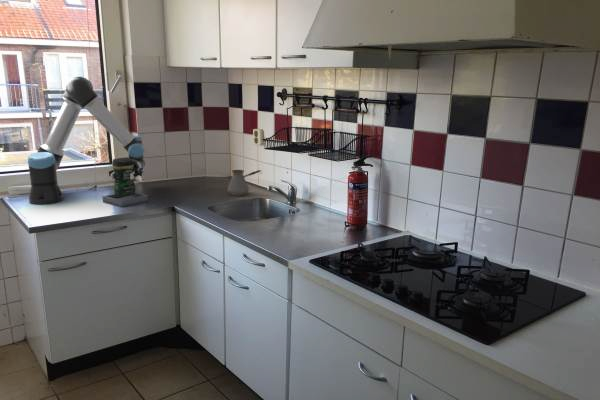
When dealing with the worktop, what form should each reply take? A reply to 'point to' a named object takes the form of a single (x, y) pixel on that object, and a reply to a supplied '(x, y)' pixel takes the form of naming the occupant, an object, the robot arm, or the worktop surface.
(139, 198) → the grey shallow rectangular tray
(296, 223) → the worktop surface
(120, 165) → the coffee jar
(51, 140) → the robot arm
